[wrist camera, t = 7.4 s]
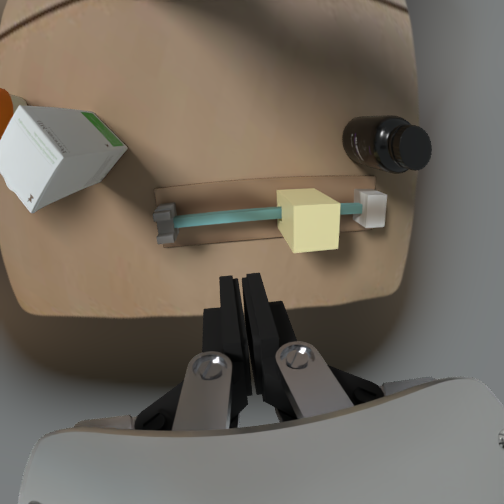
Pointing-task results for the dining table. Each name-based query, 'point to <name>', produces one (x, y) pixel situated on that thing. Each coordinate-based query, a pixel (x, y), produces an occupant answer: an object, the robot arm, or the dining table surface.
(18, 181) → the skincare box
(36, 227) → the dining table surface
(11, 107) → the reusable coffee cup
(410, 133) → the supplement bottle
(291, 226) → the pale yellow block
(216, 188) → the cable board
